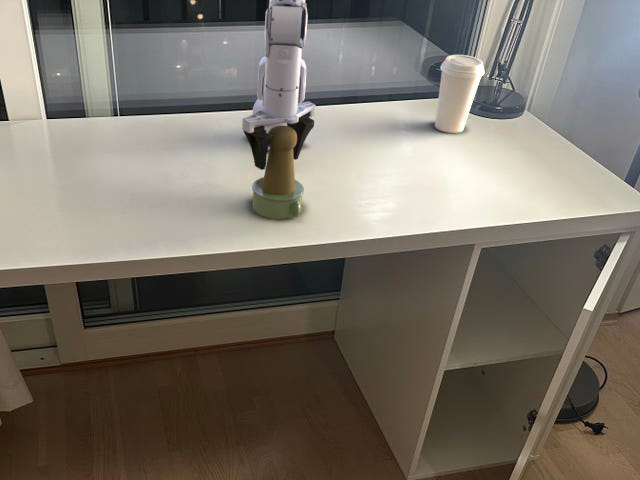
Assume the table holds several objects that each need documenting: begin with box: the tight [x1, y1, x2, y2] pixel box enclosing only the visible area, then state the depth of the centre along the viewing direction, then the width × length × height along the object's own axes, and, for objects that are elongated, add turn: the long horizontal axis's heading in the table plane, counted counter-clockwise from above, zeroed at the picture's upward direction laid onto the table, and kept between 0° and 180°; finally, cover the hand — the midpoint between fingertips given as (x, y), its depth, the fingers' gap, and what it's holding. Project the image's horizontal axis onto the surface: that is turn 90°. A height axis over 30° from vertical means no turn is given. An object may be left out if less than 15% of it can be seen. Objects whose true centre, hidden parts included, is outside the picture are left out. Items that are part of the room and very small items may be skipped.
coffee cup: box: [434, 54, 485, 134], centre depth 158 cm, size 10×10×15 cm
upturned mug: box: [251, 176, 305, 220], centre depth 129 cm, size 11×9×4 cm
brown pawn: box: [262, 126, 297, 195], centre depth 124 cm, size 6×6×11 cm
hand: (276, 162), depth 125 cm, fingers open, 7 cm apart
